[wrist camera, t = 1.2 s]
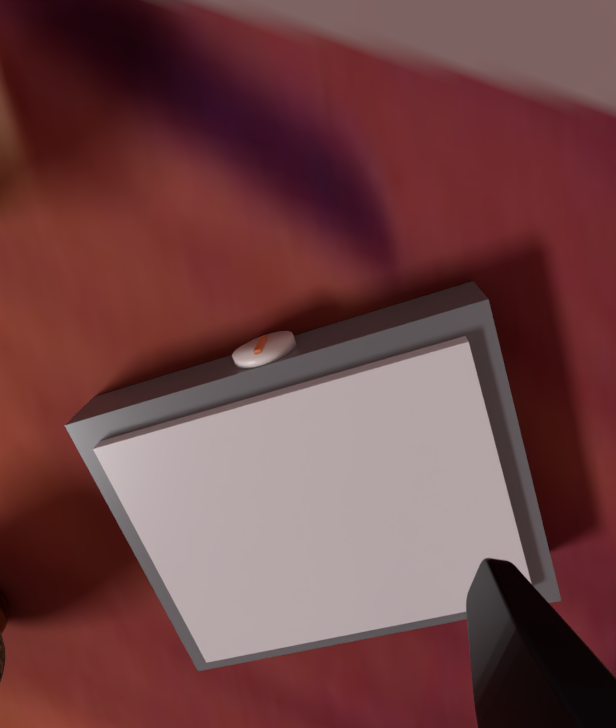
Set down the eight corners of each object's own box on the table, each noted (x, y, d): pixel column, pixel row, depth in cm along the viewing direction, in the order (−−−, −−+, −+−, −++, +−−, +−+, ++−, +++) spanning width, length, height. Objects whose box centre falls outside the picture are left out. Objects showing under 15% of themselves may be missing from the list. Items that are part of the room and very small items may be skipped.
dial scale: (541, 556, 25) (566, 612, 22) (211, 625, 28) (194, 683, 25) (469, 266, 21) (488, 287, 18) (88, 385, 24) (50, 420, 21)
